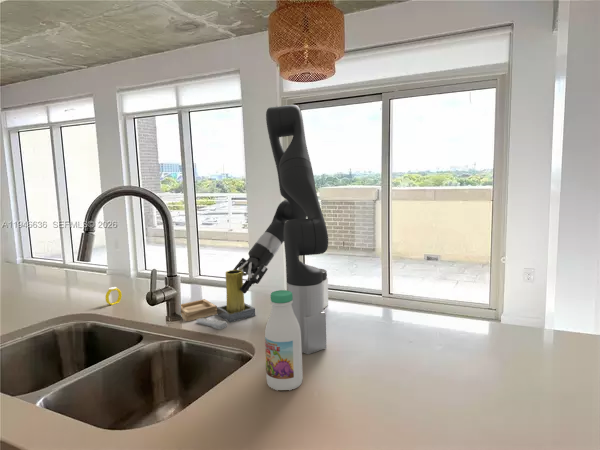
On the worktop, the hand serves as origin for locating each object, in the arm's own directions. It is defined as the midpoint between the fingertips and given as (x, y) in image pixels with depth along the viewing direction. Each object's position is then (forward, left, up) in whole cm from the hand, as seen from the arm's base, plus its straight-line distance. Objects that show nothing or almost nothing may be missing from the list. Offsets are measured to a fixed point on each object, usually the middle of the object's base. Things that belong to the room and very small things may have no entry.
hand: (235, 289), depth 131 cm
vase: (0, 0, -9) cm, 9 cm away
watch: (+40, +28, -9) cm, 50 cm away
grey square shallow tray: (0, 0, -9) cm, 8 cm away
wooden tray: (+10, +9, -9) cm, 16 cm away
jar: (-10, -25, -9) cm, 28 cm away
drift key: (-3, +10, -9) cm, 14 cm away
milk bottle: (-46, +12, -9) cm, 48 cm away
